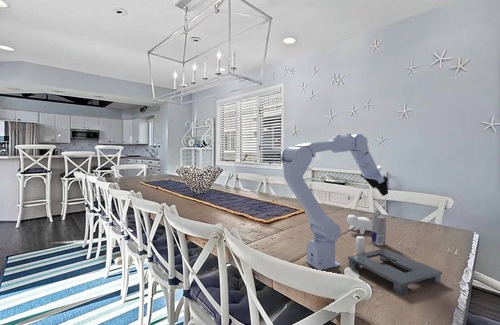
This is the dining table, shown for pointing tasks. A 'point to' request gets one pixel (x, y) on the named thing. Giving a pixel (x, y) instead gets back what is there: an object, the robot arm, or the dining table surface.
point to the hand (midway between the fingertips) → (380, 190)
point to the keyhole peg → (360, 245)
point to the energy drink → (378, 230)
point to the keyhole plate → (395, 275)
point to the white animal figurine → (359, 223)
